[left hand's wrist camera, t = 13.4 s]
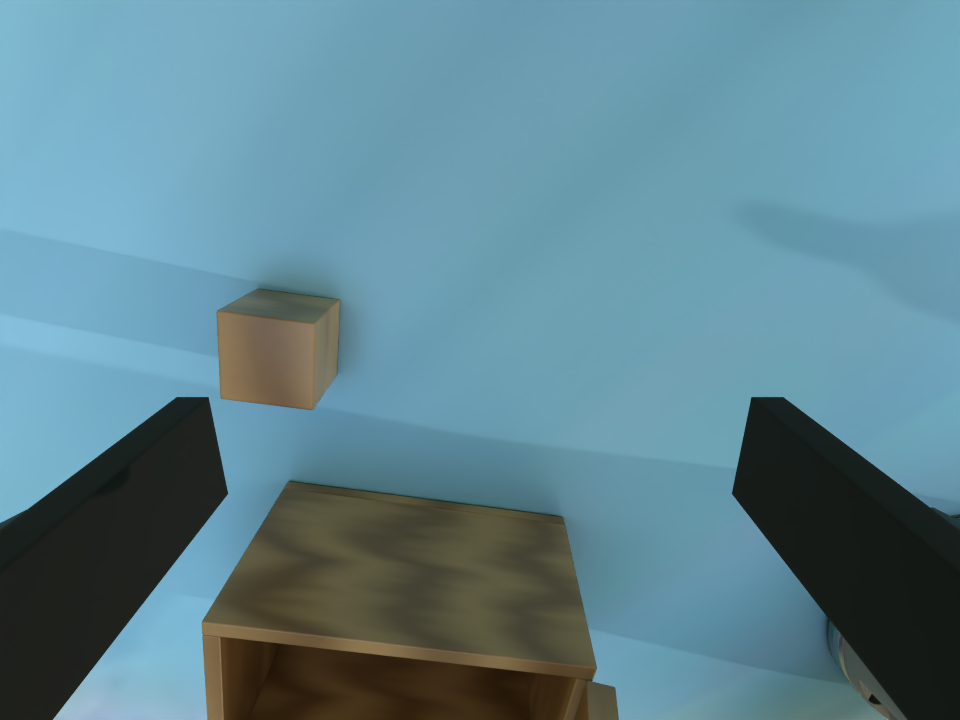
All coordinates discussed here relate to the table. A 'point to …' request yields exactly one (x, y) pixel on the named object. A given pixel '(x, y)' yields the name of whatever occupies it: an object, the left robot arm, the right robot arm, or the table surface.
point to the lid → (597, 703)
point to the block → (278, 348)
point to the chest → (398, 614)
